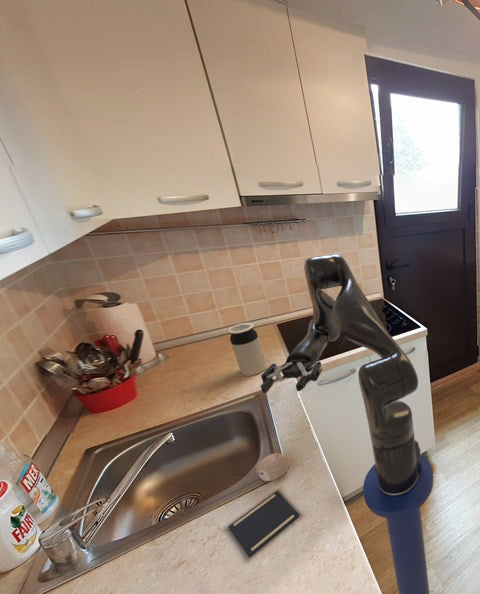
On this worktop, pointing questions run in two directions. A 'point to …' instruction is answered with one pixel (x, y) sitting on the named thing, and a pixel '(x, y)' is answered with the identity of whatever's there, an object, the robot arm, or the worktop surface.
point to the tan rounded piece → (272, 466)
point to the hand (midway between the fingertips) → (280, 389)
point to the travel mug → (247, 349)
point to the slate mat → (263, 523)
